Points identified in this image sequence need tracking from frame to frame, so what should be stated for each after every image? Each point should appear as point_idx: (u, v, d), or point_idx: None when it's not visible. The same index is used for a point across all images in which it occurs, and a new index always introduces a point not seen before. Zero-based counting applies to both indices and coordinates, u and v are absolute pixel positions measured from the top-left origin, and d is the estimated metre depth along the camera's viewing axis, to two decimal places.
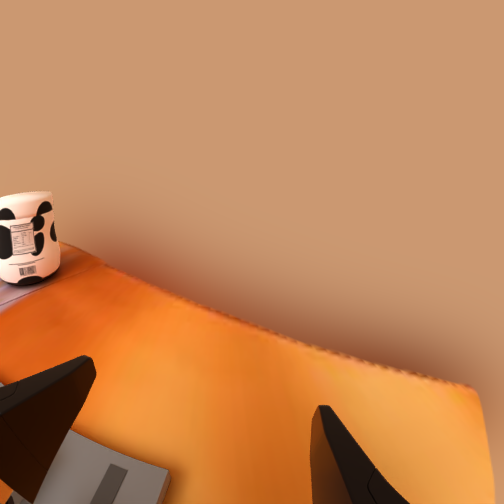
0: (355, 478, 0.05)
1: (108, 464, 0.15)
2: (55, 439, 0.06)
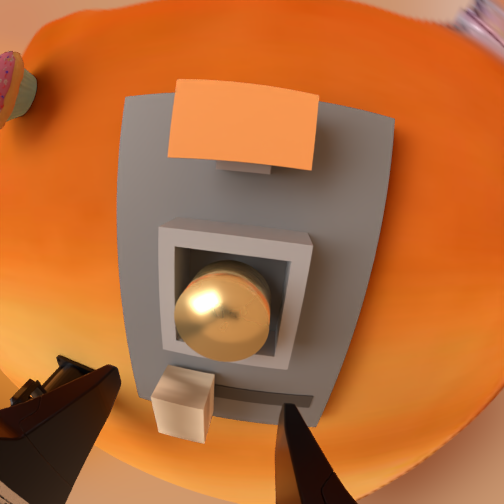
0: (310, 480, 0.05)
1: (311, 395, 0.21)
2: (80, 454, 0.06)
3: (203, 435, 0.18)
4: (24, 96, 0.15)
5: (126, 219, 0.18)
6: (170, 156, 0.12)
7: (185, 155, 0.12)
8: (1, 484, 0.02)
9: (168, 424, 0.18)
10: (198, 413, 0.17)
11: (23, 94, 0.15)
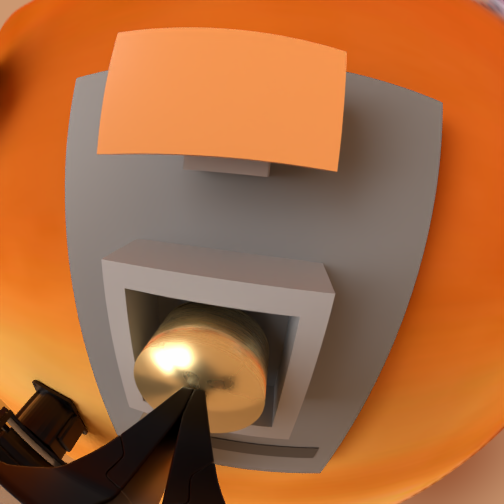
0: (187, 465, 0.05)
1: (316, 447, 0.15)
2: (158, 486, 0.06)
3: None
4: None
5: (77, 239, 0.12)
6: (101, 152, 0.07)
7: (122, 149, 0.07)
8: None
9: None
10: None
11: None
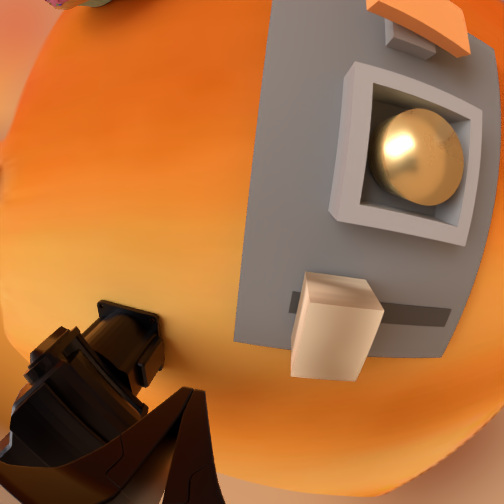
0: (187, 465, 0.05)
1: (450, 307, 0.17)
2: (159, 486, 0.06)
3: (361, 364, 0.14)
4: None
5: (277, 74, 0.14)
6: (379, 1, 0.08)
7: (392, 5, 0.08)
8: None
9: (315, 356, 0.14)
10: (374, 320, 0.13)
11: None
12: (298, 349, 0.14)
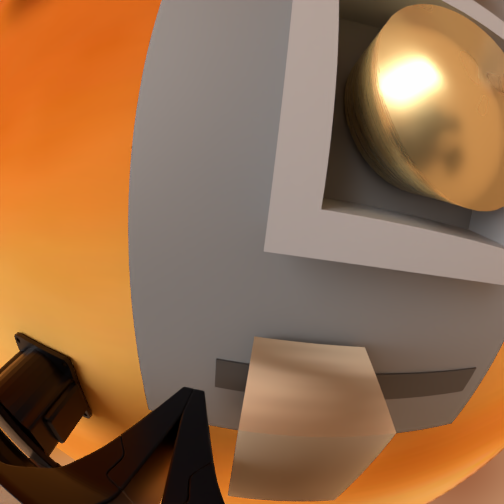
0: (187, 465, 0.05)
1: (475, 366, 0.09)
2: (159, 487, 0.06)
3: (345, 487, 0.06)
4: None
5: (181, 1, 0.06)
6: None
7: None
8: None
9: (263, 484, 0.06)
10: (373, 447, 0.05)
11: None
12: (232, 475, 0.06)
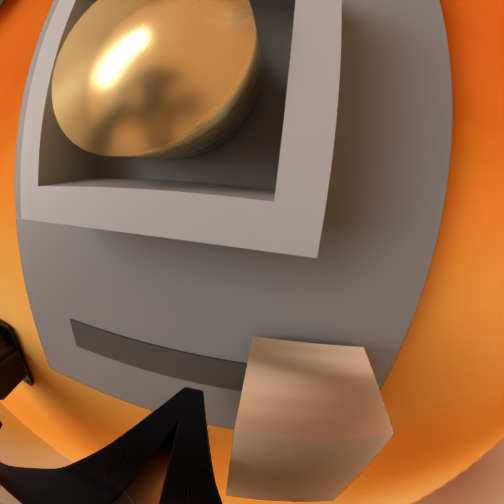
0: (185, 464, 0.05)
1: None
2: (160, 487, 0.06)
3: (343, 488, 0.06)
4: None
5: None
6: None
7: None
8: None
9: (260, 484, 0.06)
10: (371, 447, 0.05)
11: None
12: (229, 475, 0.06)
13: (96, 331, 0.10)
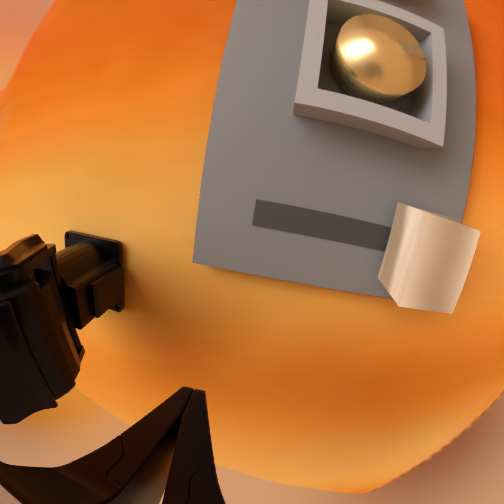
0: (187, 465, 0.05)
1: None
2: (158, 486, 0.06)
3: (459, 292, 0.12)
4: None
5: (248, 6, 0.12)
6: None
7: None
8: None
9: (425, 279, 0.12)
10: (473, 240, 0.11)
11: None
12: (411, 270, 0.12)
13: (283, 207, 0.16)
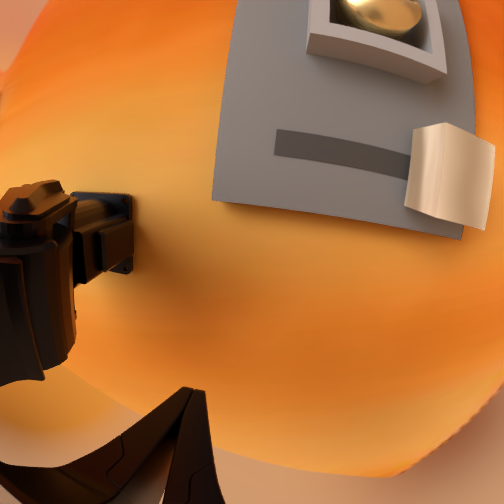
0: (188, 465, 0.05)
1: None
2: (158, 486, 0.06)
3: (487, 207, 0.11)
4: None
5: None
6: None
7: None
8: None
9: (455, 188, 0.11)
10: (490, 154, 0.10)
11: None
12: (441, 178, 0.11)
13: (304, 135, 0.15)
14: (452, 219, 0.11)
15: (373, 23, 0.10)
